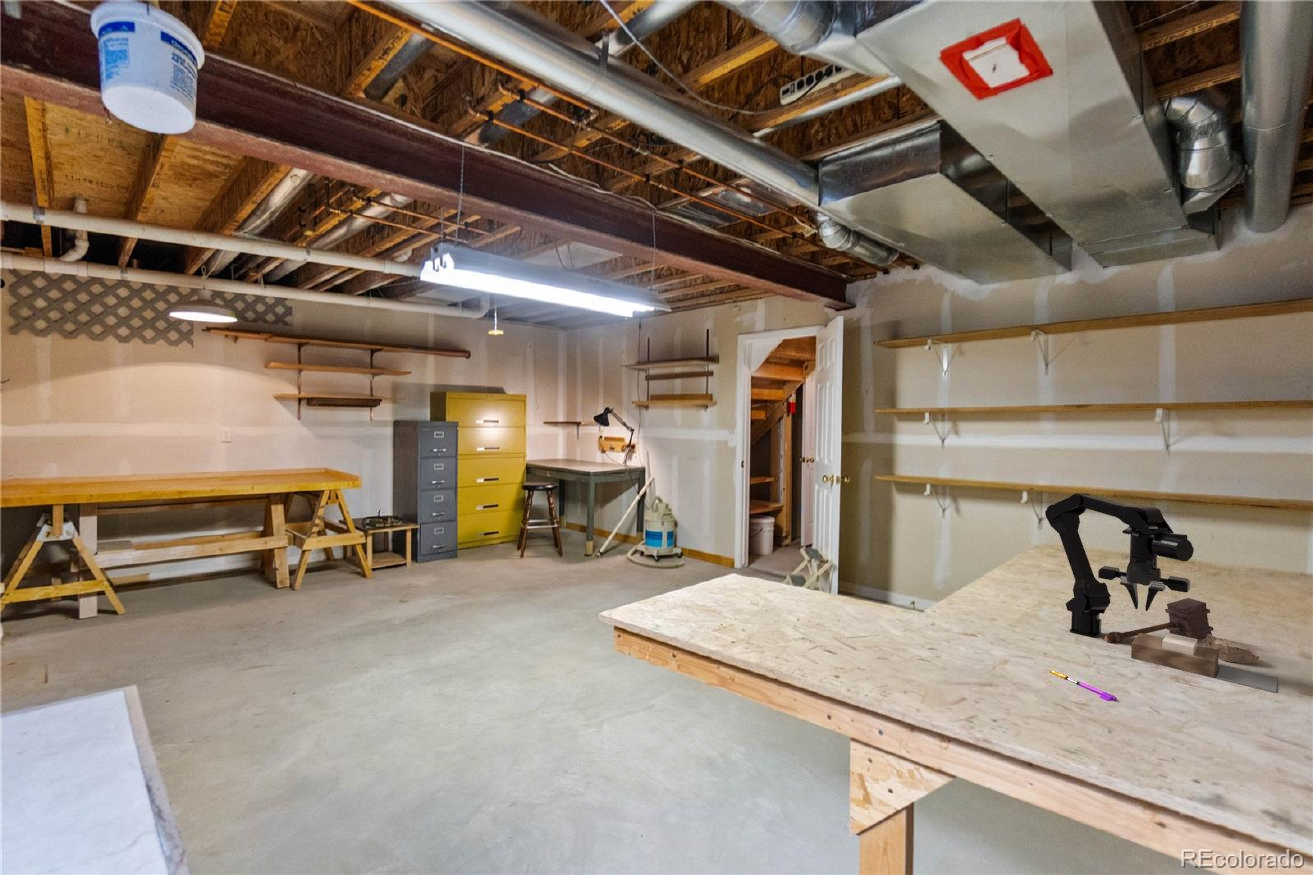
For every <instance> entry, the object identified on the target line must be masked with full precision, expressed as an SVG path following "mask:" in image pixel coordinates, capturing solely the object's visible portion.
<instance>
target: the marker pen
mask: <svg viewBox="0 0 1313 875" xmlns="http://www.w3.org/2000/svg"><path fill="white" fill-rule="evenodd" d="M1048 673H1050V674H1051V675H1054V676H1056V677H1059V678H1060V679H1062V680H1068V681H1070V682H1073V683H1075V684H1076V685H1077V686H1079V687H1081V688H1084V689H1086V690H1087V691H1091V692H1092V693H1095V694H1097V695H1099V696H1098V698H1099V699H1101V700H1103V701H1106V702H1107V701H1114V702H1117V701H1118V698H1117V697H1116V696H1115V695H1113V694H1111V693H1108V692H1105V691H1103V690H1100V689H1097V688H1095V687H1093V686H1091V685H1088V684H1086V683H1084V682H1080V681H1075V680H1072V679H1070V678H1069V676H1067V675H1065V674H1062V673H1059V672H1058V671H1055V670H1049V671H1048Z"/></svg>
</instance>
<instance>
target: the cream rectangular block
mask: <svg viewBox="0 0 1313 875" xmlns="http://www.w3.org/2000/svg"><path fill="white" fill-rule="evenodd" d="M1163 638H1164V639H1163V641H1162V648H1163V649H1167V650H1171V651H1176V652H1180V653H1185V654H1189V655H1194V653H1195V651H1196V649H1197V645H1198V642H1199V641H1198V639H1194V638H1189V637H1185V636H1180V635H1175V634H1170V632H1167V633H1166V635H1165V636H1164V637H1163Z"/></svg>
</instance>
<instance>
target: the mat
mask: <svg viewBox="0 0 1313 875" xmlns="http://www.w3.org/2000/svg"><path fill="white" fill-rule="evenodd" d="M1216 679H1217V680H1221V681H1225V682H1229V683H1234V684H1238V685H1242V686H1245V687H1251V688H1254V689H1259V690H1262V691H1267V692H1270V693H1275V694H1276V693H1277V688H1278V686H1277V685H1278V677H1277V676H1273V675H1270V674H1269V675H1268V674H1264V673H1260V672H1254V671H1251V670H1246V669H1243V668H1238V667H1235V666H1234V667H1233V666H1230V665H1225V664H1220V667H1219V669H1218V673H1217V675H1216Z"/></svg>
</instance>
